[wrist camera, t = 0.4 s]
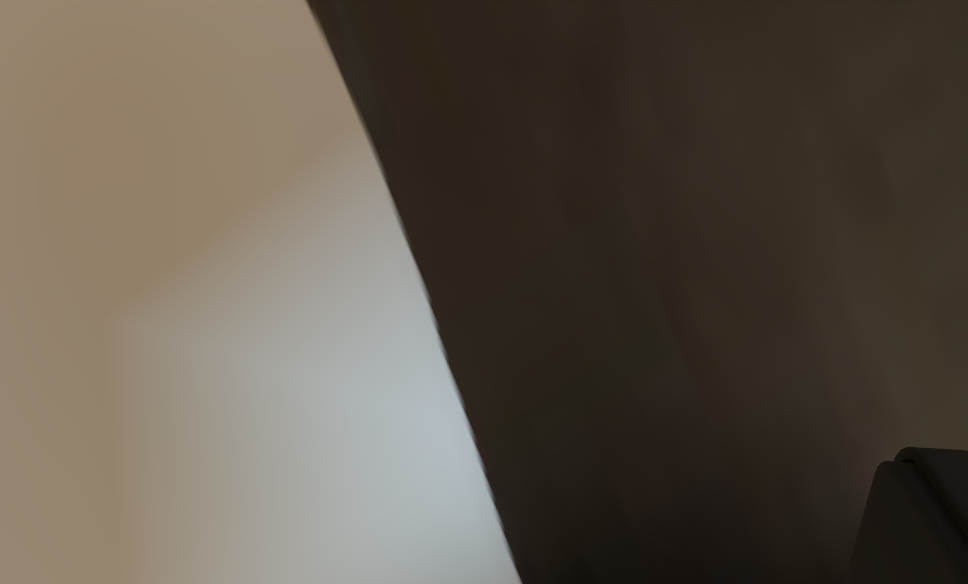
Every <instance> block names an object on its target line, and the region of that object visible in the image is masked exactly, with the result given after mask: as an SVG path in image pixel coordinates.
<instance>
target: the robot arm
mask: <svg viewBox="0 0 968 584" xmlns="http://www.w3.org/2000/svg"><path fill="white" fill-rule="evenodd" d="M844 584H968V451H965V450H953V449H935V448H917V447H906V448H904V449H901V450H900V452H899V453H898V454H897V455H896V457H895V459H894V462H893V461H885V462H882V463H881V464H880V465H879V466H878V468H877V470H876V472H875V475H874V478H873V482H872V486H871V489H870V493H869V496H868V500H867V503H866V507H865V510H864V514H863V518H862V521H861V525H860V528H859V532H858V535H857V539H856V543H855V546H854V550H853V553H852V557H851V560H850V564H849V567H848V571H847V575H846V578H845V582H844Z"/></svg>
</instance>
